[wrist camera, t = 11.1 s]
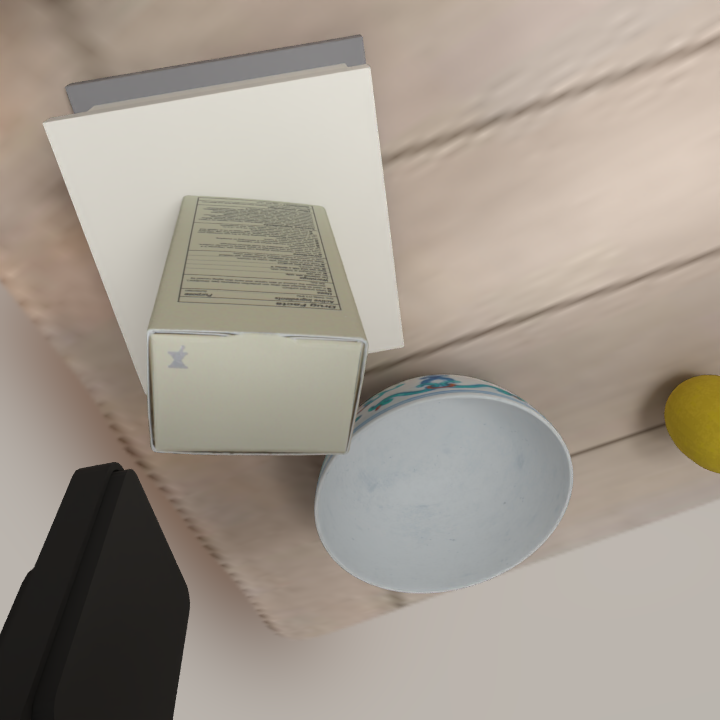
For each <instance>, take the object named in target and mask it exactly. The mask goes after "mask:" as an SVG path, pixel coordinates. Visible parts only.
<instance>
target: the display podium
mask: <svg viewBox="0 0 720 720" xmlns="http://www.w3.org/2000/svg"><path fill="white" fill-rule="evenodd" d="M65 88H66V91H67V94H68V97H69V100H70V103H71V105H72V108H73V111H74V114H70V115H64V116H58V117H52V118H49V119H47V120H46V121H45V122H43V126H44V128H45V131H46V134H47V136H48V139H49V141H50V144H51V147H52V149H53V152H54V155H55V157H56V160H57V163H58V165H59V168H60V171H61V173H62V176H63V178H64V181H65V184H66V186H67V189H68V192H69V194H70V197H71V200H72V202H73V205H74V208H75V210H76V213H77V215H78V218H79V221H80V223H81V226H82V229H83V231H84V234H85V237H86V239H87V242H88V245H89V247H90V250H91V252H92V255H93V258H94V260H95V263H96V266H97V268H98V271H99V274H100V276H101V279H102V282H103V284H104V287H105V290H106V292H107V295H108V297H109V300H110V303H111V305H112V308H113V311H114V313H115V316H116V319H117V321H118V324H119V327H120V329H121V332H122V334H123V337H124V340H125V342H126V345H127V348H128V350H129V353H130V356H131V358H132V361H133V364H134V366H135V369H136V371H137V374H138V377H139V379H140V382H141V385H142V387H143V390H144V393H145V394H147V362H146V355H147V342H146V334H147V329H148V325H149V321H150V318H151V314H152V311H153V307H154V304H155V300H156V296H157V293H158V289H159V285H160V281H161V278H162V274H163V270H164V266H165V262H166V258H167V255H168V251H169V248H170V244H171V240H172V236H173V233H174V229H175V225H176V222H177V218H178V215H179V211H180V207H181V204H182V200H183V197H184V196H187V195H191V196H211V197H228V198H244V199H256V200H269V201H280V202H290V203H300V204H308V205H317V206H322V207H324V208H325V210H326V212H327V216H328V219H329V222H330V225H331V228H332V231H333V234H334V237H335V241H336V244H337V247H338V250H339V253H340V256H341V259H342V262H343V265H344V269H345V272H346V275H347V279H348V282H349V285H350V288H351V291H352V294H353V297H354V300H355V303H356V306H357V309H358V313H359V316H360V319H361V322H362V325H363V328H364V331H365V335H366V338H367V340H368V343H369V348H368V354H369V353H374V352H380V351H385V350H391V349H396V348H402V347H404V340H403V332H402V323H401V315H400V307H399V299H398V291H397V282H396V274H395V266H394V258H393V250H392V241H391V233H390V225H389V217H388V209H387V200H386V192H385V184H384V176H383V168H382V160H381V151H380V143H379V135H378V127H377V119H376V110H375V102H374V94H373V86H372V78H371V69H370V66H369V65H368V64H366V60H365V52H364V44H363V37H362V36H361V35H355V36H349V37H343V38H337V39H331V40H325V41H319V42H313V43H307V44H301V45H296V46H290V47H284V48H278V49H272V50H266V51H260V52H254V53H248V54H242V55H236V56H230V57H224V58H219V59H213V60H207V61H201V62H195V63H189V64H183V65H177V66H171V67H165V68H159V69H153V70H148V71H142V72H136V73H130V74H124V75H118V76H112V77H106V78H100V79H94V80H88V81H82V82H76V83H71V84H69V85H67V86H66V87H65Z"/></svg>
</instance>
